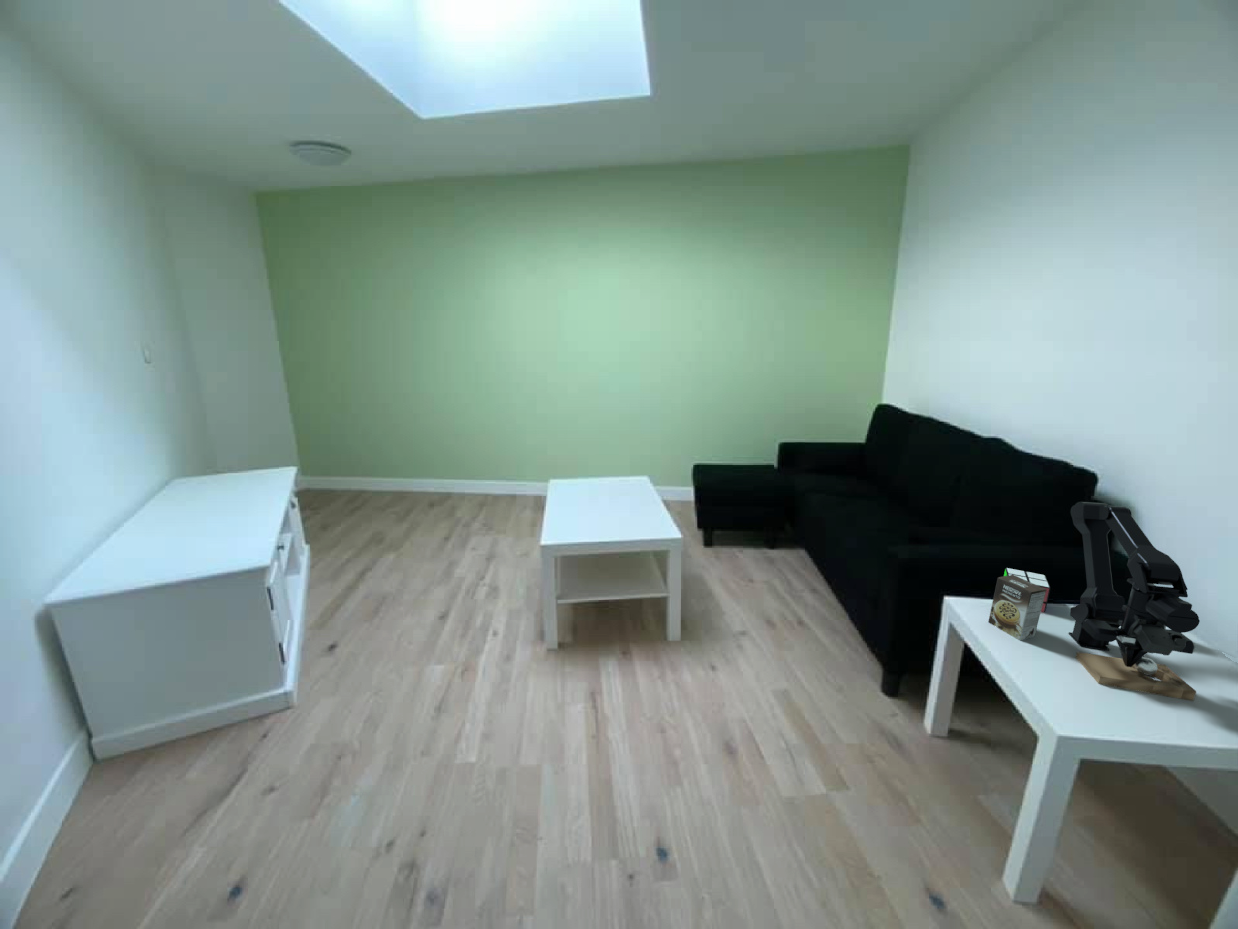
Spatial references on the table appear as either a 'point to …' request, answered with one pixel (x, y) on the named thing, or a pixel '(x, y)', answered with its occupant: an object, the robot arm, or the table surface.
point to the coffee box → (1016, 606)
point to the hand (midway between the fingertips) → (1127, 666)
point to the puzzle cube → (1034, 579)
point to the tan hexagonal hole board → (1135, 677)
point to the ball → (1146, 666)
